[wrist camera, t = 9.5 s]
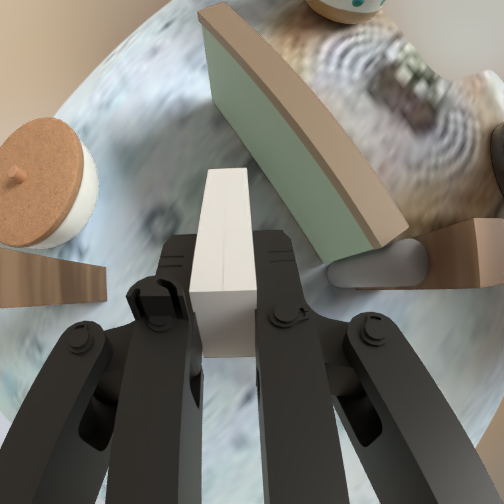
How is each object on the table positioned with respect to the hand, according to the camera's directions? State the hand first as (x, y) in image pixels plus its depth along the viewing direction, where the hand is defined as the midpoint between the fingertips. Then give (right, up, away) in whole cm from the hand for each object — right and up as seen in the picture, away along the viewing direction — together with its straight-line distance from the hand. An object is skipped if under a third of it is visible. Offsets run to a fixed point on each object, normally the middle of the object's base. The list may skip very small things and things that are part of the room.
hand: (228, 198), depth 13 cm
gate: (+3, +4, +14) cm, 15 cm away
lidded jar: (-17, +3, +14) cm, 22 cm away
